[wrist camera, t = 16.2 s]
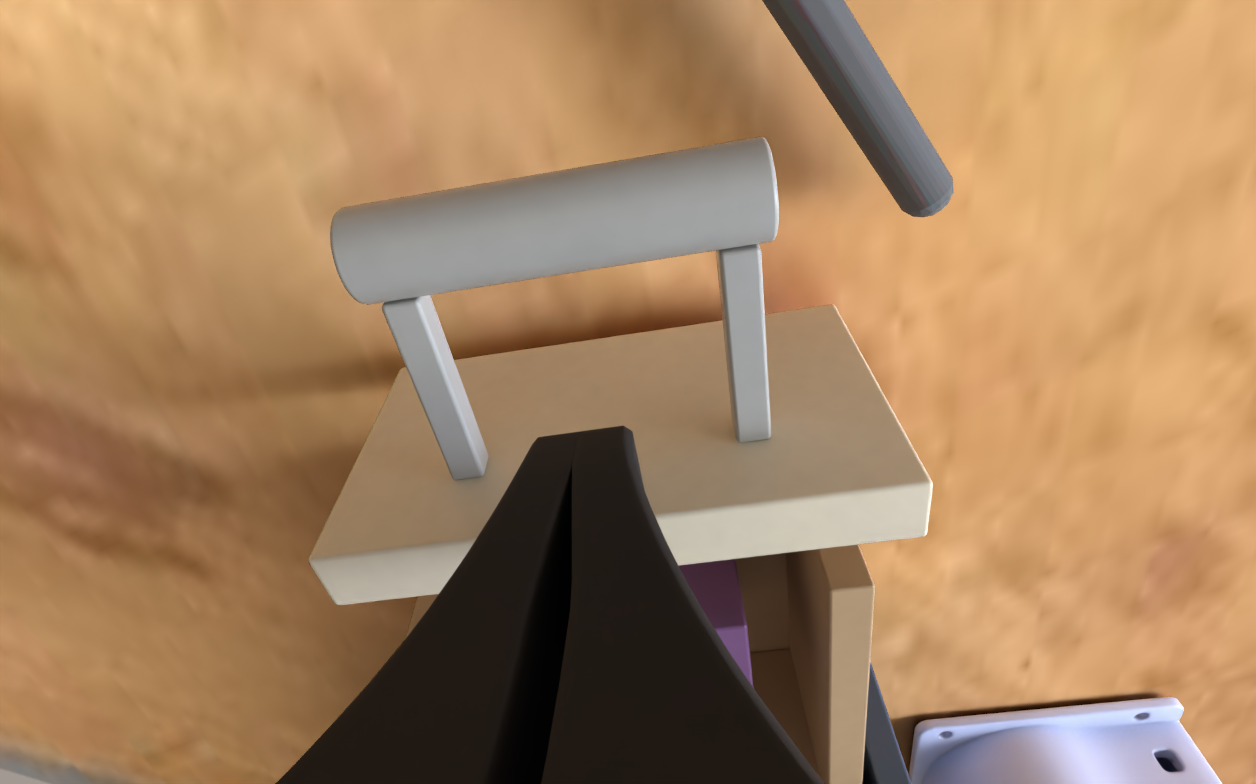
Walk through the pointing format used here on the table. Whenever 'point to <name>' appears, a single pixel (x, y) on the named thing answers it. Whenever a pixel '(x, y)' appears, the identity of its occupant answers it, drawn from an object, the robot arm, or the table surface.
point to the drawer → (637, 414)
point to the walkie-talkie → (866, 101)
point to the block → (722, 606)
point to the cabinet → (881, 743)
